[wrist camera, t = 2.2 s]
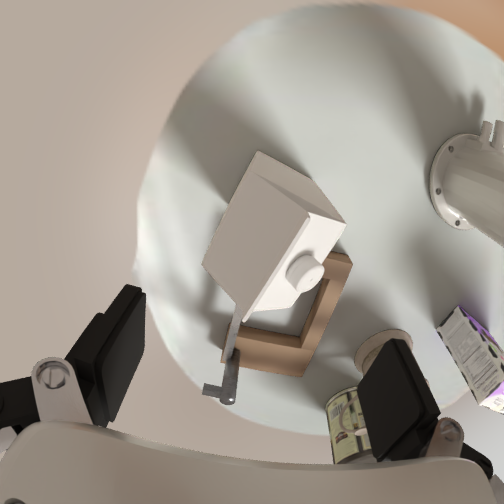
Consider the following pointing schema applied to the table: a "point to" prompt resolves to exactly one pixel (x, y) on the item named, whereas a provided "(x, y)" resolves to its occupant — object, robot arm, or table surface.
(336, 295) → the wooden frame
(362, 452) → the coffee can
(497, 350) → the candy box
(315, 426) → the table surface
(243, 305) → the milk carton
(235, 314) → the rail
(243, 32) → the table surface
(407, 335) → the mug
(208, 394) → the hook post
